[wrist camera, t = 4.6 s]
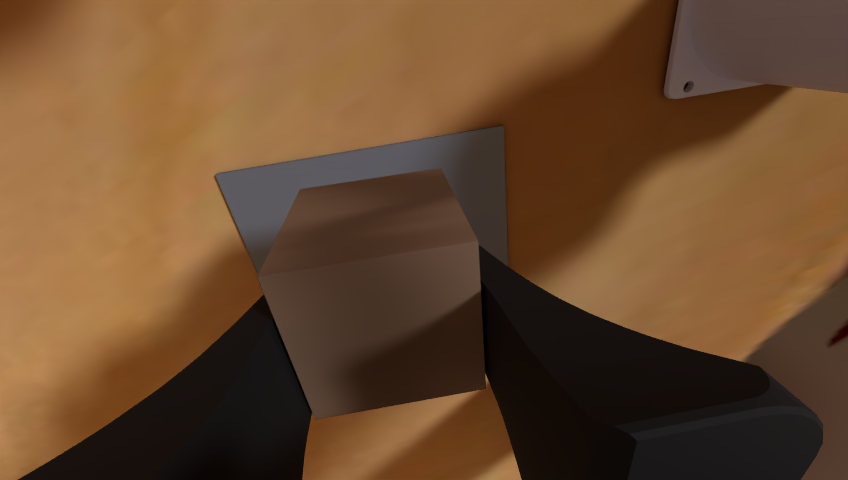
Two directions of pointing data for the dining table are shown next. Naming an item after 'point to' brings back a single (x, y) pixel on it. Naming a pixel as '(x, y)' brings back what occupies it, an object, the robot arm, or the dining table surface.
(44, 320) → the dining table surface
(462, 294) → the walnut block
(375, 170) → the mat
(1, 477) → the dining table surface
